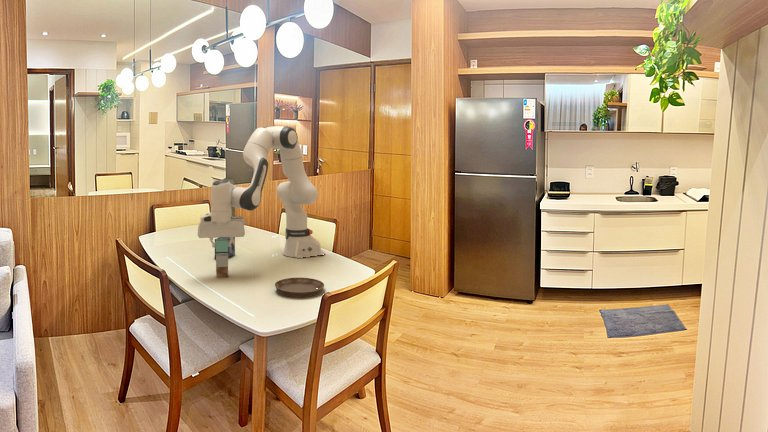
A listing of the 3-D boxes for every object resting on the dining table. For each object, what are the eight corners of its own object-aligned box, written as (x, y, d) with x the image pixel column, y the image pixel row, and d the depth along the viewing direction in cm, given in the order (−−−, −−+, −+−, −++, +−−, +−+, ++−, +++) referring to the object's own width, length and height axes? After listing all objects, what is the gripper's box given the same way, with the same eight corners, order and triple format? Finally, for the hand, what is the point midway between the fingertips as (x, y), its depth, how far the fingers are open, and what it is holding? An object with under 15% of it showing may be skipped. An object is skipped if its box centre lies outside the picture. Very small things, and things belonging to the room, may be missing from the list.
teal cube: (227, 249, 236) (227, 238, 235) (227, 251, 231) (227, 240, 230) (215, 249, 234) (215, 238, 233) (216, 252, 229) (215, 241, 228)
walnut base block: (227, 274, 238) (227, 263, 237) (228, 277, 233) (228, 266, 232) (216, 274, 236) (216, 264, 235) (216, 277, 231) (216, 267, 231)
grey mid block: (227, 263, 237) (227, 253, 236) (228, 266, 232) (227, 255, 231) (216, 264, 235) (215, 253, 234) (216, 267, 231) (216, 256, 230)
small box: (225, 260, 261) (225, 240, 260) (214, 259, 263) (213, 239, 261) (235, 255, 272) (235, 236, 270) (224, 254, 273) (224, 235, 271)
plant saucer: (326, 284, 228) (326, 277, 228) (321, 300, 208) (322, 292, 207) (279, 283, 228) (279, 276, 227) (270, 298, 207) (270, 290, 207)
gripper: (244, 215, 236) (244, 244, 239) (197, 215, 229) (197, 246, 232) (245, 217, 231) (246, 247, 233) (197, 218, 224) (197, 249, 226)
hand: (221, 246), depth 232 cm, fingers closed on teal cube, 5 cm apart
